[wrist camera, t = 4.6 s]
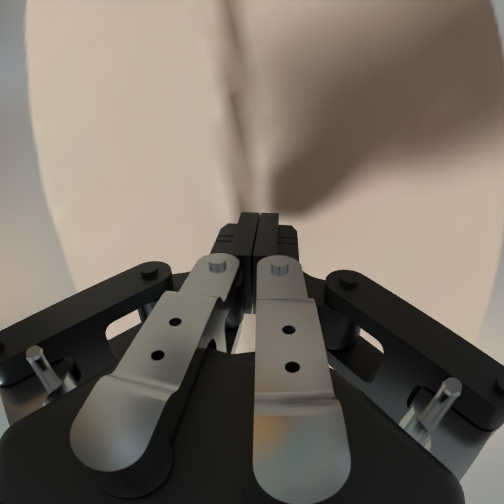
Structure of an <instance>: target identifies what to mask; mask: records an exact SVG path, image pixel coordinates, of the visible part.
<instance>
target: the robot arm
mask: <svg viewBox="0 0 504 504" xmlns="http://www.w3.org/2000/svg"><path fill="white" fill-rule="evenodd" d="M278 222H279V213H261V215H260V213H251V212H242V213H241V215H240V218H239V221H238V224H229V223H228V224H227V225H225V226H224V227H223V228H221V229H220V232H219V234H218V236H217V239H216V242H215V243H214V246H213V248H212V251H211V253H210V254H209V255H206V256H203V257H202V258H200V259H199V260H198V261H197V262H196V264H195V265H194V267H193V269H192V270H191V272H186V273H179V274H172V272H171V268H170V266H169V265H168V264H166V263H164V262H159V261H152V262H146V263H142V264H140V265H137V266H135V267H133V268H131V269H129V270H126V271H124V272H122V273H120V274H118V275H116V276H113V277H111V278H109V279H107V280H105V281H102V282H100V283H98V284H96V285H94V286H92V287H90V288H87V289H85V290H83V291H81V292H79V293H77V294H75V295H73V296H71V297H68V298H66V299H64V300H62V301H60V302H58V303H56V304H54V305H52V306H50V307H48V308H46V309H44V310H42V311H39V312H37V313H35V314H33V315H32V316H29V317H27V318H26V319H23V320H22V321H20V322H17V323H15V324H13V325H11V326H9V327H7V328H5V329H3V330H1V331H0V395H1V398H2V402H3V405H4V409H5V412H6V415H7V419H8V422H9V425H10V427H9V428H8V429H7V430H6V431H5V432H4V434H3V436H2V437H1V439H0V504H465V499H464V493H463V490H462V487H461V485H460V483H459V481H460V480H461V478H462V477H463V476H464V474H465V473H466V472H467V470H468V469H469V467H470V466H471V464H472V463H473V462H474V460H475V458H476V457H477V456H478V454H479V452H480V451H481V449H482V448H483V446H484V445H485V443H486V441H487V440H488V439H489V438H490V437H491V436H492V435H493V434H494V433H495V432H496V431H497V430H498V429H499V428H500V427H501V426H502V425H503V423H504V366H503V365H501V364H500V363H498V362H497V361H496V360H494V359H493V358H491V357H490V356H488V355H487V354H485V353H484V352H482V351H481V350H479V349H478V348H477V347H475V346H474V345H472V344H471V343H469V342H468V341H466V340H465V339H463V338H462V337H460V336H459V335H457V334H456V333H454V332H453V331H451V330H450V329H448V328H447V327H445V326H443V325H442V324H440V323H439V322H437V321H436V320H434V319H433V318H431V317H430V316H428V315H427V314H425V313H423V312H422V311H420V310H419V309H417V308H416V307H414V306H412V305H411V304H409V303H408V302H406V301H405V300H403V299H401V298H400V297H398V296H397V295H395V294H393V293H392V292H390V291H389V290H387V289H385V288H384V287H382V286H381V285H379V284H377V283H376V282H374V281H372V280H371V279H369V278H368V277H366V276H364V275H363V274H361V273H358V272H355V271H351V270H337V271H334V272H332V273H330V274H329V275H328V276H327V277H326V280H322V279H318V278H314V277H312V276H310V275H308V274H306V273H305V272H303V271H302V266H301V264H300V263H299V252H298V239H297V231H296V230H295V229H294V228H293V227H292V226H291V225H278ZM252 307H253V314H256V342H255V352H248V353H240V354H235V351H236V348H237V344H238V341H239V338H240V334H241V331H242V320H243V316H244V313H246V314H251V313H252ZM137 309H138V313H139V316H140V320H141V323H140V324H138V325H136V326H134V327H132V328H130V329H129V330H127V331H125V332H123V333H121V334H119V335H117V336H116V337H114V338H112V339H110V340H107V338H106V334H105V332H106V329H107V327H108V326H109V324H111V323H112V322H114V321H116V320H118V319H120V318H121V317H123V316H125V315H127V314H129V313H131V312H133V311H135V310H137ZM361 328H362V329H363V330H364V331H366V332H367V333H369V334H370V335H371V336H373V337H374V338H375V339H377V340H378V341H379V342H380V344H381V345H382V347H383V350H384V354H383V353H382V352H381V351H379V350H378V349H377V348H375V347H374V346H373V345H372V344H370V343H369V342H368V341H366V340H365V339H364V338H362V337H361V336H360V335H359V333H360V329H361ZM328 364H329V365H330V366H331V367H332V368H333V369H331V368H329V365H328ZM335 370H336V371H335ZM398 424H399V425H398Z"/></svg>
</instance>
